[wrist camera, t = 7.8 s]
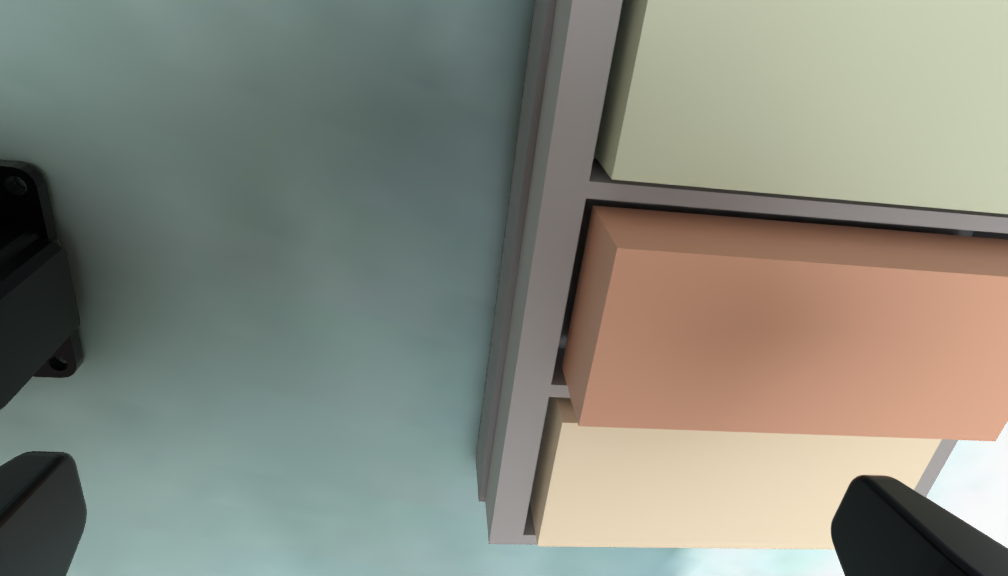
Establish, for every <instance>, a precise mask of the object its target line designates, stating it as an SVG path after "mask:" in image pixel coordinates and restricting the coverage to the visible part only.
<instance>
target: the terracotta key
mask: <svg viewBox="0 0 1008 576" xmlns="http://www.w3.org/2000/svg"><path fill="white" fill-rule="evenodd" d="M562 370H563V374H564V377H565V381H566V384H567V388H568V391H569V395H570V398H571V402H572V405H573V409H574V412H575V415H576V419H577V422H578V426H586V427H614V428H642V429H670V430H698V431H727V432H755V433H783V434H811V435H839V436H867V437H895V438H923V439H951V440H979V441H996V439H997V438H998V436H999V434H1000V433H1001V431H1002V429H1003V428H1004V426H1005V424H1006V423H1007V421H1008V240H1007V239H995V238H983V237H971V236H959V235H946V234H934V233H922V232H910V231H898V230H886V229H873V228H861V227H849V226H837V225H825V224H813V223H800V222H788V221H776V220H764V219H752V218H739V217H727V216H715V215H703V214H691V213H679V212H666V211H654V210H642V209H630V208H618V207H606V206H593V207H592V212H591V217H590V222H589V228H588V233H587V238H586V243H585V248H584V254H583V259H582V264H581V269H580V274H579V280H578V285H577V290H576V295H575V300H574V305H573V311H572V316H571V321H570V326H569V331H568V337H567V342H566V347H565V352H564V357H563V363H562Z"/></svg>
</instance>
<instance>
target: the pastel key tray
mask: <svg viewBox="0 0 1008 576" xmlns="http://www.w3.org/2000/svg"><path fill="white" fill-rule="evenodd" d="M622 2H623V0H535V4H534V11H533V19H532V27H531V35H530V42H529V50H528V58H527V66H526V73H525V81H524V89H523V97H522V104H521V112H520V120H519V128H518V135H517V143H516V151H515V159H514V166H513V174H512V182H511V190H510V197H509V205H508V213H507V221H506V228H505V236H504V244H503V252H502V259H501V267H500V275H499V283H498V290H497V298H496V306H495V314H494V321H493V329H492V337H491V345H490V352H489V360H488V368H487V376H486V383H485V391H484V399H483V407H482V414H481V422H480V430H479V438H478V445H477V453H476V468H477V482H478V496H479V501H485V502H486V514H487V526H488V538H489V544H537V541H536V535H535V529H534V523H533V517H532V511H531V505H530V496H531V491H532V485H533V480H534V474H535V469H536V464H537V458H538V453H539V448H540V442H541V437H542V431H543V426H544V421H545V415H546V410H547V405H548V399H549V397H561V398H570V395H569V391H568V388H567V384H566V381H565V377H564V374H563V370H562V363H563V357H564V352H565V347H566V342H567V337H568V331H569V326H570V321H571V316H572V311H573V305H574V300H575V295H576V290H577V285H578V280H579V274H580V269H581V264H582V259H583V254H584V248H585V243H586V238H587V233H588V228H589V222H590V217H591V212H592V207H593V206H606V207H618V208H630V209H642V210H654V211H666V212H679V213H691V214H703V215H715V216H727V217H739V218H752V219H764V220H776V221H788V222H800V223H813V224H825V225H837V226H849V227H861V228H873V229H886V230H898V231H910V232H922V233H934V234H946V235H959V236H971V237H983V238H995V239H1007V240H1008V214H999V213H988V212H976V211H965V210H953V209H942V208H931V207H919V206H908V205H897V204H885V203H874V202H862V201H851V200H840V199H828V198H817V197H806V196H794V195H783V194H771V193H760V192H749V191H737V190H726V189H715V188H703V187H692V186H681V185H669V184H658V183H646V182H635V181H624V180H612V179H611V178H610V177H609V175H608V174H607V172H606V171H605V170H604V168H603V167H602V165H601V164H600V163H599V161H598V160H597V158H596V157H595V156H594V152H595V147H596V142H597V136H598V131H599V125H600V120H601V115H602V109H603V104H604V99H605V93H606V88H607V83H608V77H609V72H610V66H611V61H612V56H613V50H614V45H615V40H616V34H617V29H618V24H619V18H620V13H621V7H622ZM957 441H958V440H951V439H942V440H941V442H940V444H939V445H938V447H937V449H936V451H935V453H934V455H933V456H932V458H931V460H930V462H929V464H928V465H927V467H926V469H925V471H924V473H923V474H922V476H921V478H920V480H919V482H918V484H917V485H916V487H915V489H914V490H915V491H916V492H918V493H919V494H921V495H923V496H924V497H926V496H927V494H928V492H929V490H930V489H931V487H932V485H933V483H934V482H935V480H936V478H937V476H938V475H939V473H940V471H941V469H942V468H943V466H944V464H945V462H946V461H947V459H948V457H949V455H950V453H951V452H952V450H953V448H954V446H955V445H956V443H957Z"/></svg>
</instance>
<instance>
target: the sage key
mask: <svg viewBox="0 0 1008 576" xmlns="http://www.w3.org/2000/svg"><path fill="white" fill-rule="evenodd" d="M594 156H595V157H596V158H597V160H598V161H599V163H600V164H601V165H602V167H603V168H604V170H605V171H606V172H607V174H608V175H609V177H610V178H611V179H612V180H624V181H635V182H646V183H658V184H669V185H681V186H692V187H703V188H715V189H726V190H737V191H749V192H760V193H771V194H783V195H794V196H806V197H817V198H828V199H840V200H851V201H862V202H874V203H885V204H897V205H908V206H919V207H931V208H942V209H953V210H965V211H976V212H988V213H999V214H1008V0H623V2H622V7H621V13H620V18H619V24H618V29H617V34H616V40H615V45H614V50H613V56H612V61H611V66H610V72H609V77H608V83H607V88H606V93H605V99H604V104H603V109H602V115H601V120H600V125H599V131H598V136H597V142H596V147H595V152H594Z"/></svg>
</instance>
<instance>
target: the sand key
mask: <svg viewBox="0 0 1008 576" xmlns="http://www.w3.org/2000/svg"><path fill="white" fill-rule="evenodd" d="M941 440H942V439H923V438H895V437H867V436H839V435H811V434H783V433H755V432H727V431H698V430H670V429H642V428H614V427H586V426H578V422H577V419H576V415H575V412H574V409H573V405H572V402H571V398H561V397H549V399H548V405H547V410H546V415H545V421H544V426H543V431H542V437H541V442H540V448H539V453H538V458H537V464H536V469H535V474H534V480H533V485H532V491H531V496H530V505H531V511H532V517H533V523H534V529H535V535H536V541H537V546H562V547H658V548H753V549H835V548H834V545H833V542H832V538H831V522H832V519H833V517H834V515H835V513H836V511H837V509H838V507H839V505H840V503H841V501H842V499H843V497H844V494H845V492H846V490H847V488H848V486H849V484H850V483H851V481H852V480H853V479H854V478H856V477H857V476H860V475H884V476H890V477H893V478H895V479H897V480H899V481H900V482H902V483H903V484H905V485H907V486H908V487H910V488H911V489H913V490H914V489H915V487H916V485H917V484H918V482H919V480H920V478H921V476H922V474H923V473H924V471H925V469H926V467H927V465H928V464H929V462H930V460H931V458H932V456H933V455H934V453H935V451H936V449H937V447H938V445H939V444H940V442H941Z"/></svg>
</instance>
